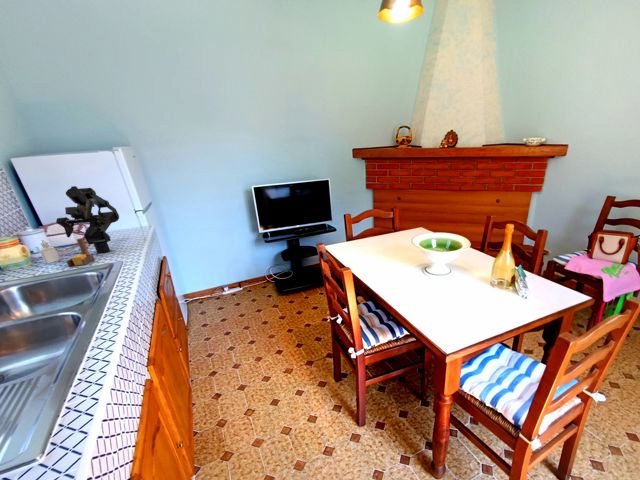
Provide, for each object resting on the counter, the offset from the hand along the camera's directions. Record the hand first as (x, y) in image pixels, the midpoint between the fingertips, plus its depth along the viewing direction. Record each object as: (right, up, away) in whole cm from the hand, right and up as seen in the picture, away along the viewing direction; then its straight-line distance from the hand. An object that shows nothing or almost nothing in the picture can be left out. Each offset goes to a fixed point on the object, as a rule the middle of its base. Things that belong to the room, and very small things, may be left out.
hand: (78, 236), depth 146 cm
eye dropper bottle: (-20, -13, +7) cm, 25 cm away
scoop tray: (+1, -14, +2) cm, 14 cm away
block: (+1, -13, +1) cm, 14 cm away
